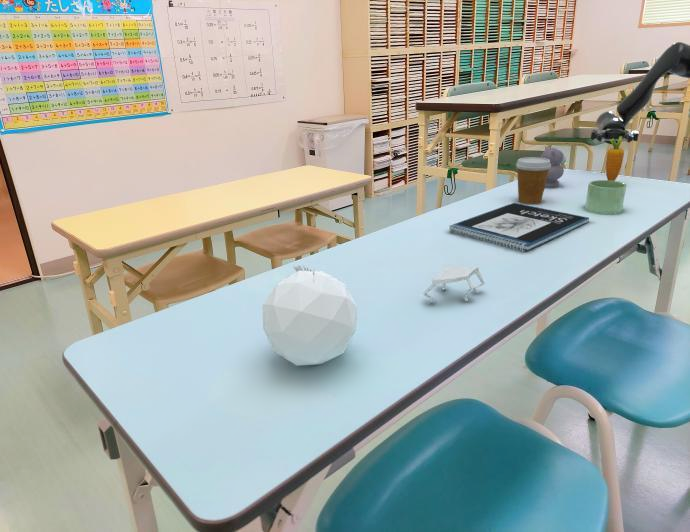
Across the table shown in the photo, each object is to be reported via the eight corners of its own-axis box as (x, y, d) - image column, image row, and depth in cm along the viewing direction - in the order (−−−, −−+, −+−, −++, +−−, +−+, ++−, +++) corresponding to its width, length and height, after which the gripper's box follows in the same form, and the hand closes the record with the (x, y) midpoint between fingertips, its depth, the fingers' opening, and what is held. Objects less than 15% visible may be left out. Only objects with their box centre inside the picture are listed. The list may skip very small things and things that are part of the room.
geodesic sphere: (237, 307, 82) (250, 256, 71) (317, 285, 89) (340, 235, 77) (274, 393, 76) (295, 352, 65) (356, 362, 83) (388, 320, 71)
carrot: (605, 186, 163) (613, 138, 158) (599, 182, 168) (606, 135, 162) (622, 186, 163) (630, 137, 157) (615, 182, 168) (622, 135, 162)
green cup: (615, 204, 145) (619, 180, 142) (626, 214, 137) (631, 188, 134) (581, 204, 146) (585, 180, 144) (590, 213, 138) (594, 188, 136)
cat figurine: (566, 188, 164) (571, 149, 159) (541, 189, 164) (545, 150, 159) (555, 181, 172) (560, 145, 167) (531, 182, 172) (535, 146, 167)
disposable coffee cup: (514, 196, 157) (517, 156, 153) (547, 197, 154) (552, 157, 150) (511, 204, 149) (514, 162, 145) (546, 206, 146) (551, 164, 141)
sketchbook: (588, 222, 132) (589, 214, 131) (525, 254, 114) (526, 245, 113) (513, 206, 147) (514, 199, 146) (446, 232, 129) (447, 224, 128)
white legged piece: (449, 281, 102) (450, 257, 100) (486, 293, 97) (488, 268, 95) (410, 301, 95) (411, 277, 93) (449, 316, 89) (450, 290, 87)
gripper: (592, 120, 185) (592, 126, 171) (637, 120, 179) (641, 127, 166) (589, 141, 188) (589, 149, 174) (633, 142, 182) (637, 151, 169)
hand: (615, 138), depth 170 cm, fingers open, 8 cm apart
